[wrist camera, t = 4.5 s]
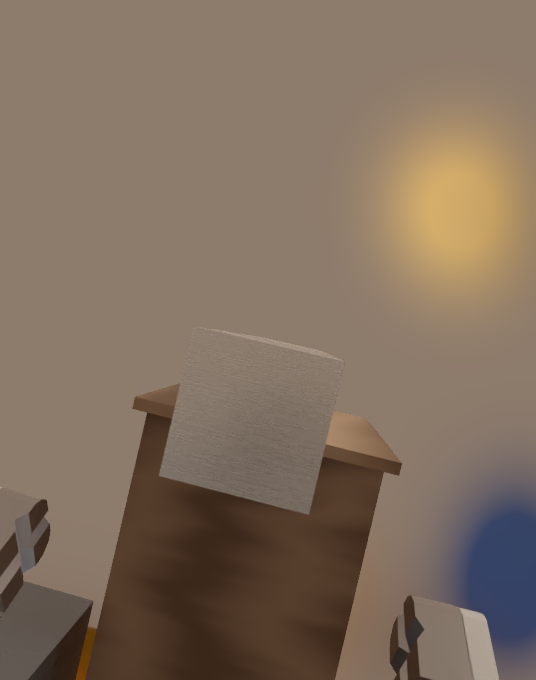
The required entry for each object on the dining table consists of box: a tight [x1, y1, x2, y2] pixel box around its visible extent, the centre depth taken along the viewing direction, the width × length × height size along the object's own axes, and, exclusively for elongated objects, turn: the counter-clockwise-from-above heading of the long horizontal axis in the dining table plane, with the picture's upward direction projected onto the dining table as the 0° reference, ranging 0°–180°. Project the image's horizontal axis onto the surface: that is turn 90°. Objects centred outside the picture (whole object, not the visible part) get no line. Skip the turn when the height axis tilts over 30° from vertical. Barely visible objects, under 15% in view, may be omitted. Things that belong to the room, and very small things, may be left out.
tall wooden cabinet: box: [86, 383, 402, 680], centre depth 26 cm, size 11×12×26 cm
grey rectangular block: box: [159, 326, 345, 515], centre depth 21 cm, size 4×20×4 cm, turn 176°
